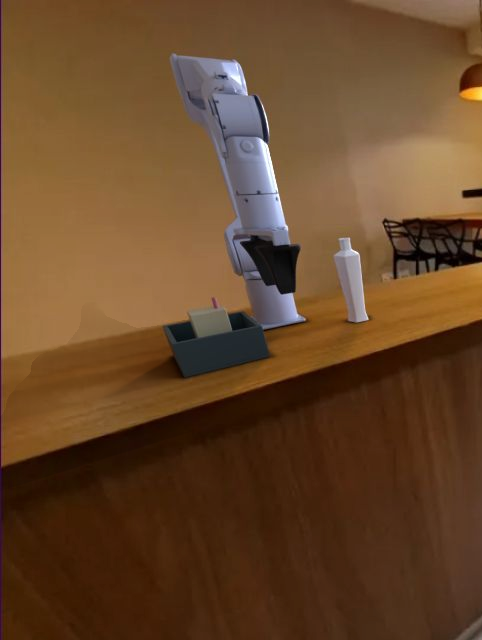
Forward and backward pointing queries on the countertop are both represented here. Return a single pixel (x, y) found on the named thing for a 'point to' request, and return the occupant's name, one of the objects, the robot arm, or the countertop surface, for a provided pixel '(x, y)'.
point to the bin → (217, 345)
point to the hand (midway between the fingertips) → (280, 288)
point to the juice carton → (209, 320)
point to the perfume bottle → (351, 280)
